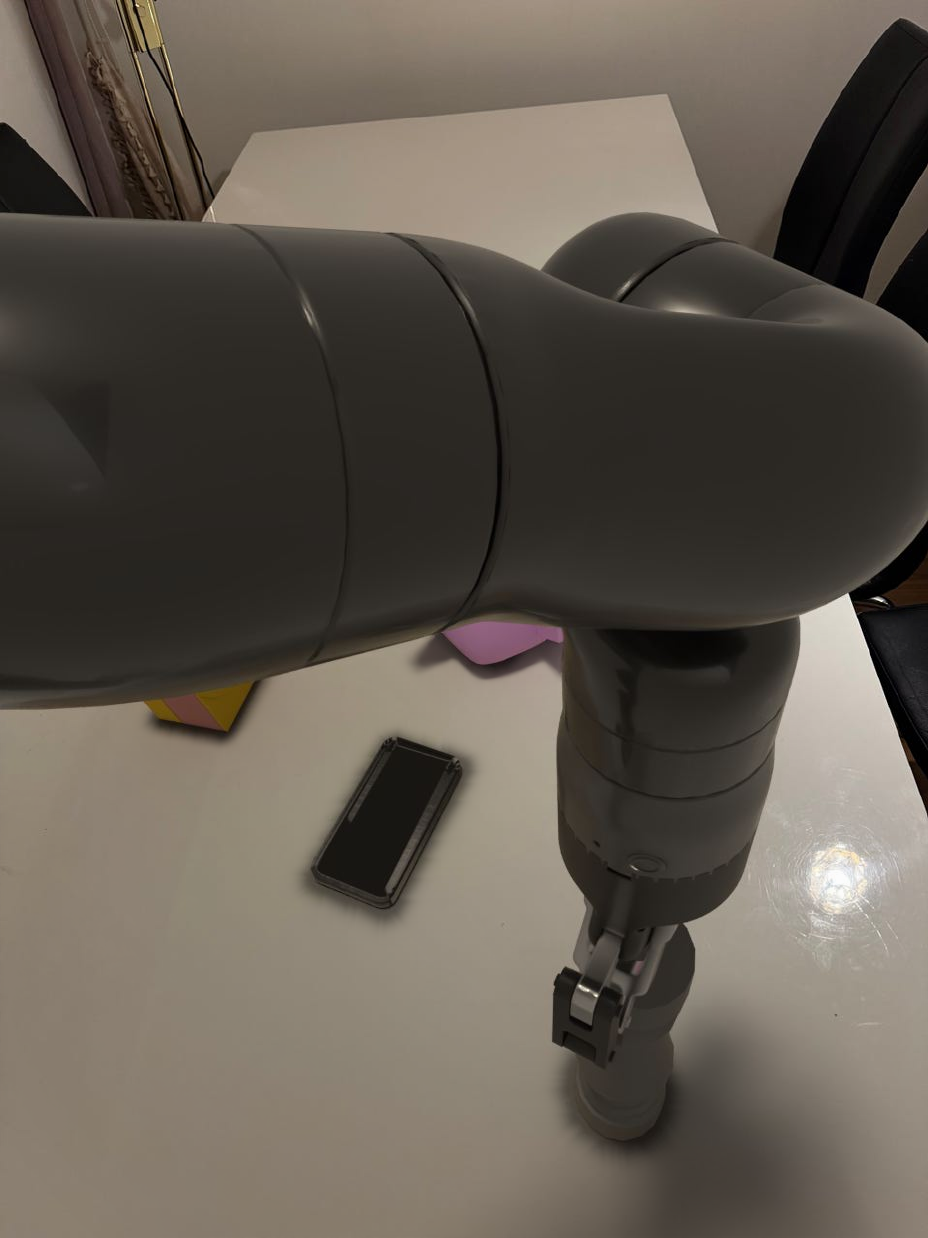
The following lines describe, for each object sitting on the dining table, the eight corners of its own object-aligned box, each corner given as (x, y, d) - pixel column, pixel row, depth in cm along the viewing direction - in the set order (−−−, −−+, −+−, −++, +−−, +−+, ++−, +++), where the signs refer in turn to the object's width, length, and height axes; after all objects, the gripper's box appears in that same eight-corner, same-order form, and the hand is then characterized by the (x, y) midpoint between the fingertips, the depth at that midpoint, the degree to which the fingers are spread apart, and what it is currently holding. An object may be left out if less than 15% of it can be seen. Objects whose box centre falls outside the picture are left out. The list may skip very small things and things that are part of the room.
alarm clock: (226, 747, 87) (162, 619, 73) (150, 732, 89) (74, 605, 75) (287, 631, 96) (240, 498, 83) (217, 620, 98) (160, 488, 85)
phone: (464, 759, 82) (387, 906, 74) (465, 766, 83) (389, 912, 75) (387, 733, 85) (304, 872, 76) (389, 740, 86) (307, 878, 77)
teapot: (398, 677, 91) (374, 570, 80) (429, 549, 103) (412, 440, 92) (593, 689, 88) (596, 580, 77) (602, 556, 100) (606, 445, 89)
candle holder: (669, 1139, 62) (712, 1013, 44) (578, 1142, 63) (581, 1018, 44) (656, 1043, 66) (689, 890, 48) (570, 1047, 67) (570, 896, 48)
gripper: (635, 617, 39) (620, 809, 51) (478, 901, 31) (504, 1049, 43) (813, 676, 36) (753, 864, 48) (690, 1004, 29) (655, 1132, 41)
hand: (636, 952), depth 46 cm, fingers open, 8 cm apart
